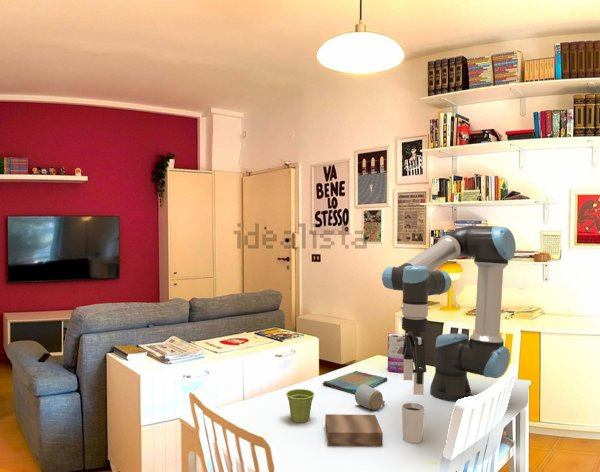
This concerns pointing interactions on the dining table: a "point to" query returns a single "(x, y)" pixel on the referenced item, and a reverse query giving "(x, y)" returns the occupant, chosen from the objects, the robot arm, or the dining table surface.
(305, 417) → the plant pot
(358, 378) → the dish towel
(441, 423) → the dining table surface
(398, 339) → the candy bar box
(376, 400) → the ceramic mug
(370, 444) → the walnut riser block
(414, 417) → the beige hollow cylinder
